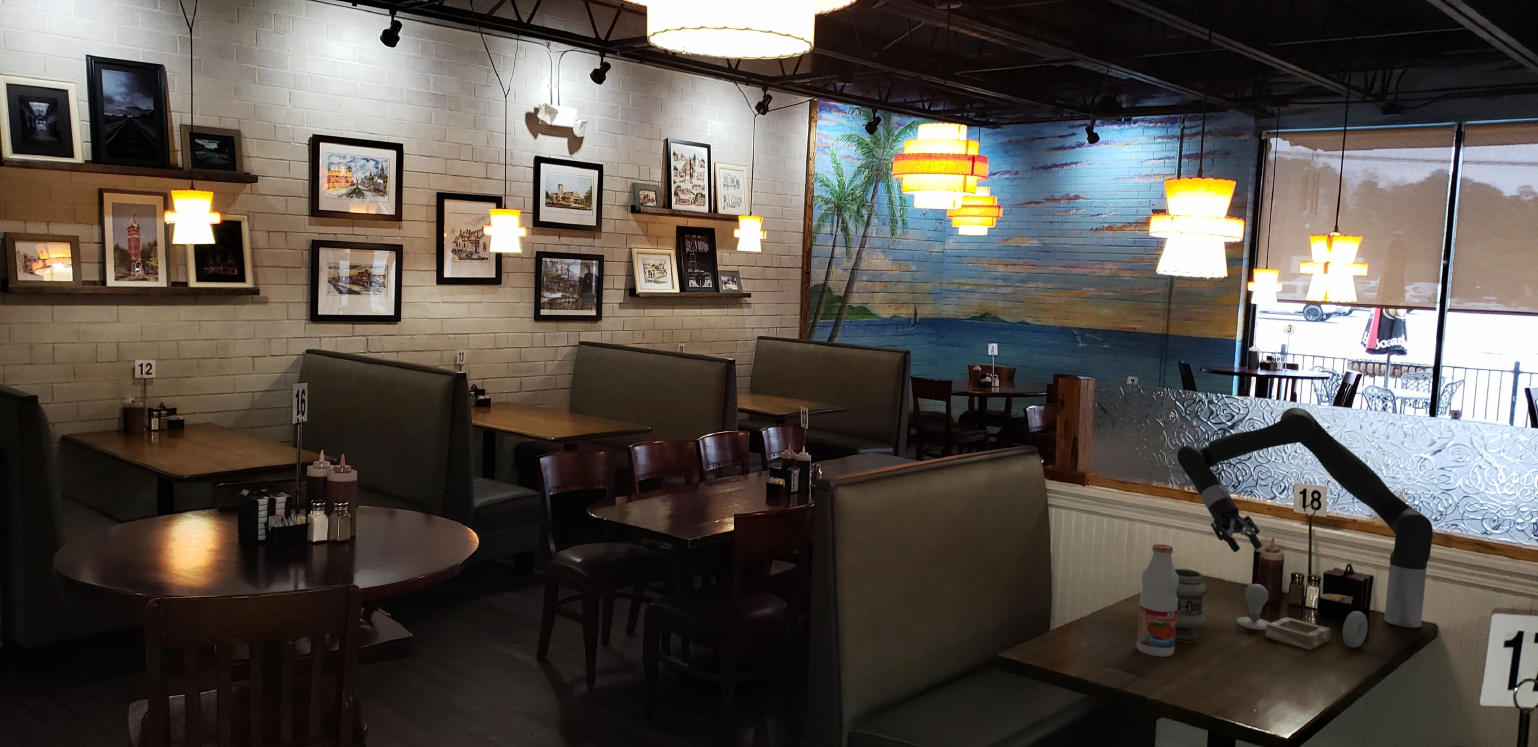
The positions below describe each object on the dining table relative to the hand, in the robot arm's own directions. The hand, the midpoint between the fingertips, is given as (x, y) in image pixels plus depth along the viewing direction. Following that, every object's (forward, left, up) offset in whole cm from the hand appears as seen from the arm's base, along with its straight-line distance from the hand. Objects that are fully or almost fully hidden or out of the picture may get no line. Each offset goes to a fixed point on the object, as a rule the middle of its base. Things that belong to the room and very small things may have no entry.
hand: (1248, 549), depth 312 cm
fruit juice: (+51, +1, -20) cm, 55 cm away
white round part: (+6, +6, -20) cm, 22 cm away
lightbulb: (+6, +6, -19) cm, 21 cm away
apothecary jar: (+34, -1, -20) cm, 40 cm away
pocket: (+8, +19, -20) cm, 29 cm away
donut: (+2, +31, -20) cm, 37 cm away
